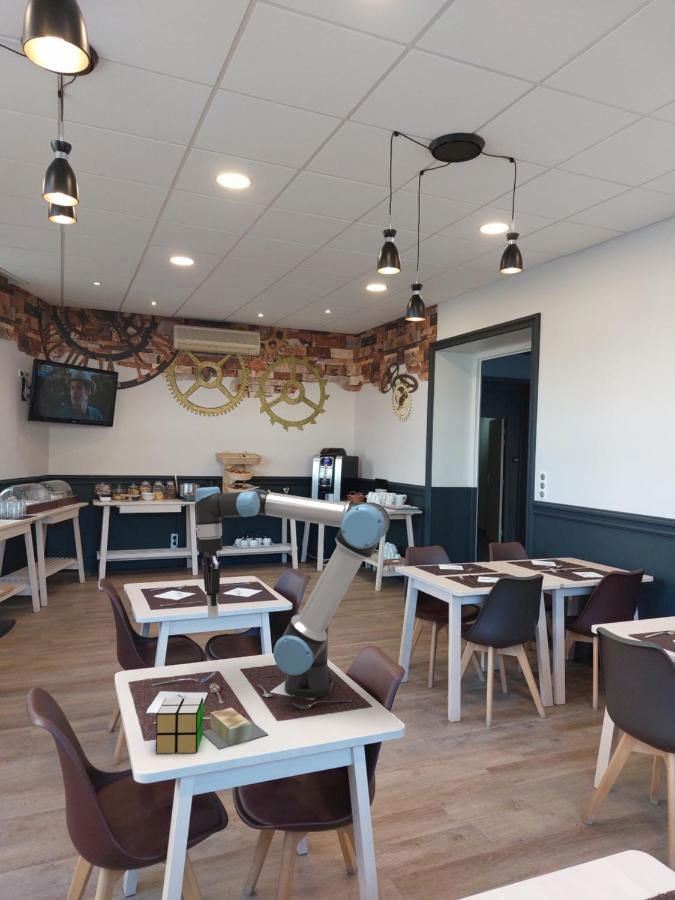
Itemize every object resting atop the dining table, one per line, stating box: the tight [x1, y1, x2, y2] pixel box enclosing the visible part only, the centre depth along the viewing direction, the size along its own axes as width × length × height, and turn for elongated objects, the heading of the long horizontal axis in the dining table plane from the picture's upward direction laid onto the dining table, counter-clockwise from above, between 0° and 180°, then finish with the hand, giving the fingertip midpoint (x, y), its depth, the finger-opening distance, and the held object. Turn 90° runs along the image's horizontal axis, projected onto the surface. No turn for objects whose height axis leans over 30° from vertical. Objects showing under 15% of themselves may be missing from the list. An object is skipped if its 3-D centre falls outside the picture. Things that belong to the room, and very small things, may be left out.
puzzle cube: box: [155, 697, 204, 755], centre depth 154 cm, size 10×10×10 cm
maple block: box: [210, 707, 251, 745], centre depth 160 cm, size 6×4×12 cm
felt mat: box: [202, 718, 269, 750], centre depth 160 cm, size 14×11×1 cm
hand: (213, 616), depth 183 cm, fingers closed
